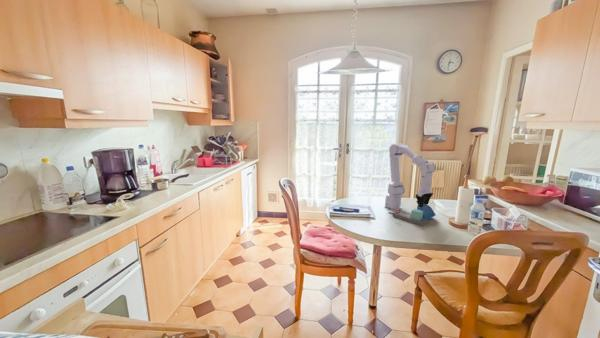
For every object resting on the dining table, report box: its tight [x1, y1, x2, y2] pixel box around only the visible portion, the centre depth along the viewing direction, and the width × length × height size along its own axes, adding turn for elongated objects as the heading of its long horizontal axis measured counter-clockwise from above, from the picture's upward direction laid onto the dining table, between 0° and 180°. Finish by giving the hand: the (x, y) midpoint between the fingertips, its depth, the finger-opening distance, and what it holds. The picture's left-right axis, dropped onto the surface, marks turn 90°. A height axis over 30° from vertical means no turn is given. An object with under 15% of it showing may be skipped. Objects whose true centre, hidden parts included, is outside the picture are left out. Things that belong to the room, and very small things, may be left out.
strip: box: [388, 210, 429, 227], centre depth 148 cm, size 22×7×3 cm, turn 41°
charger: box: [411, 208, 424, 221], centre depth 143 cm, size 5×4×7 cm
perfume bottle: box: [416, 200, 436, 221], centre depth 148 cm, size 6×6×12 cm
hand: (423, 205), depth 144 cm, fingers open, 7 cm apart
